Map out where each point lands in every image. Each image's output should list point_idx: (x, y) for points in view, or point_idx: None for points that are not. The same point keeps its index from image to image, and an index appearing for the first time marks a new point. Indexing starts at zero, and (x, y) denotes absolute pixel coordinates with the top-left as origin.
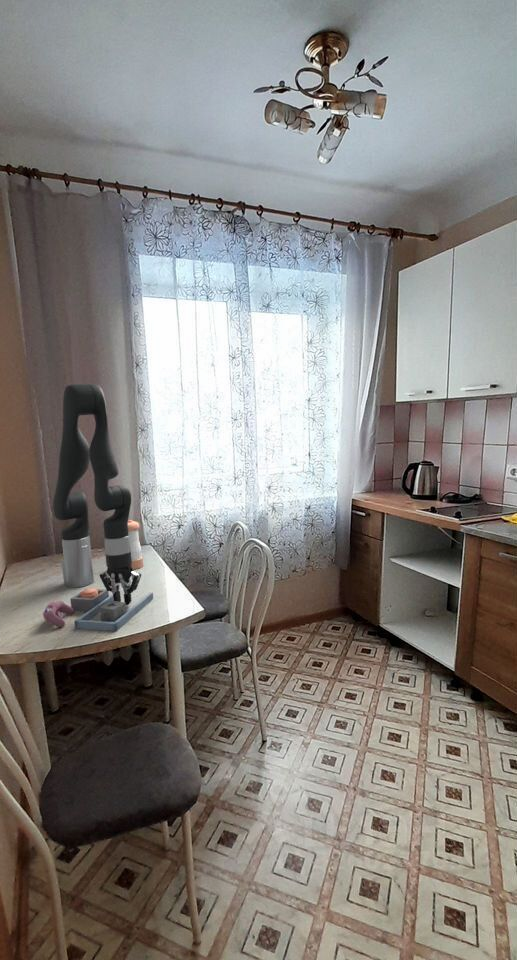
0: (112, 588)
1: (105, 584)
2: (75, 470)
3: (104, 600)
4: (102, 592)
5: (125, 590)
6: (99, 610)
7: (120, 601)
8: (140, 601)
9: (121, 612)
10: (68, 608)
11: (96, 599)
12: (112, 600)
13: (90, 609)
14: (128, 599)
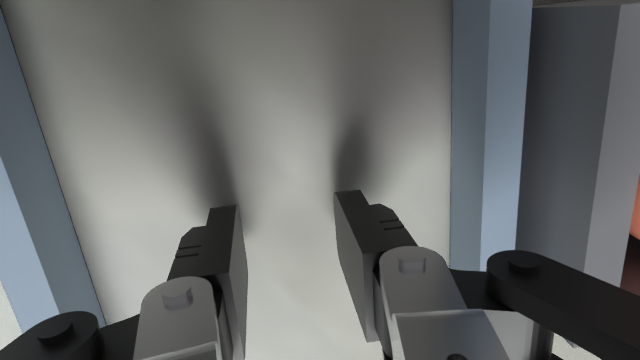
0: (447, 293)
1: (636, 317)
2: None
3: (506, 185)
4: (605, 263)
5: (174, 320)
6: (461, 28)
7: (339, 255)
8: (29, 281)
9: None
10: None
11: (589, 84)
12: (458, 269)
13: (573, 3)
14: (179, 253)
